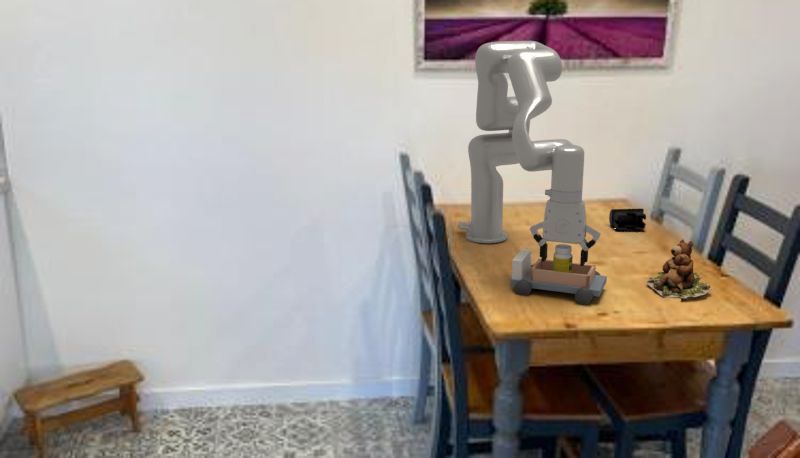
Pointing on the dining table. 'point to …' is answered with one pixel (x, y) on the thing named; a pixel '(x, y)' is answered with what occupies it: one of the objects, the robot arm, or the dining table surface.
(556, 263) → the supplement bottle
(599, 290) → the toy truck
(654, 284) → the bear figurine
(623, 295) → the dining table surface
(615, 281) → the dining table surface
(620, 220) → the end cap
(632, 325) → the dining table surface
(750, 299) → the dining table surface
